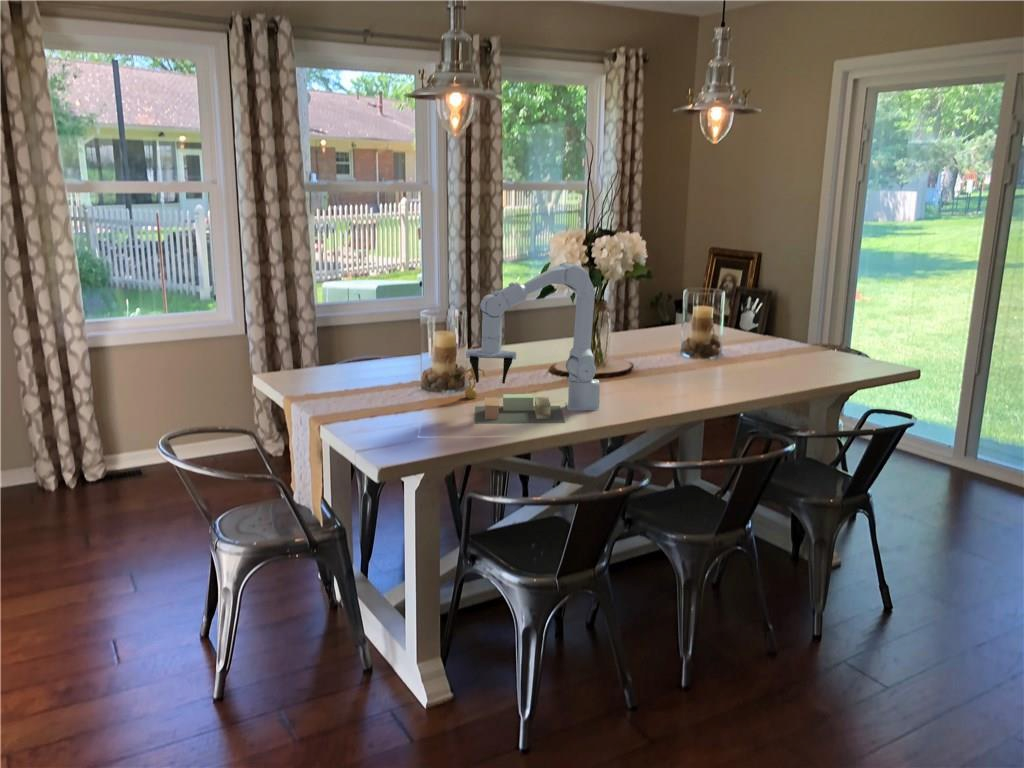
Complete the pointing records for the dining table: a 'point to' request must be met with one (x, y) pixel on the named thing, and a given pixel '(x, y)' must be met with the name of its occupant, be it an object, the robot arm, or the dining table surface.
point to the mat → (518, 416)
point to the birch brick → (542, 407)
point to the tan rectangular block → (491, 408)
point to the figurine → (470, 391)
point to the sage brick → (517, 402)
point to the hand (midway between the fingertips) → (490, 382)
